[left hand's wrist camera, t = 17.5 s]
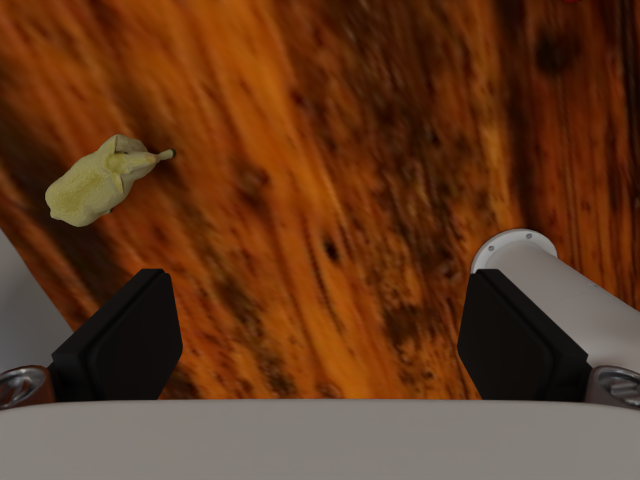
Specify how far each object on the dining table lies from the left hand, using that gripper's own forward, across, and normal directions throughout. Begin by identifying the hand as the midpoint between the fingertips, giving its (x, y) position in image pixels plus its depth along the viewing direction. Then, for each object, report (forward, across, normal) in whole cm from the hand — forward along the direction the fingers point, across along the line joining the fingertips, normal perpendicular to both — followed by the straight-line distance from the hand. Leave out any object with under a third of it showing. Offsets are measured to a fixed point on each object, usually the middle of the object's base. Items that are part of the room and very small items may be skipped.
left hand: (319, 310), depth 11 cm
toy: (+40, +25, +2) cm, 47 cm away
